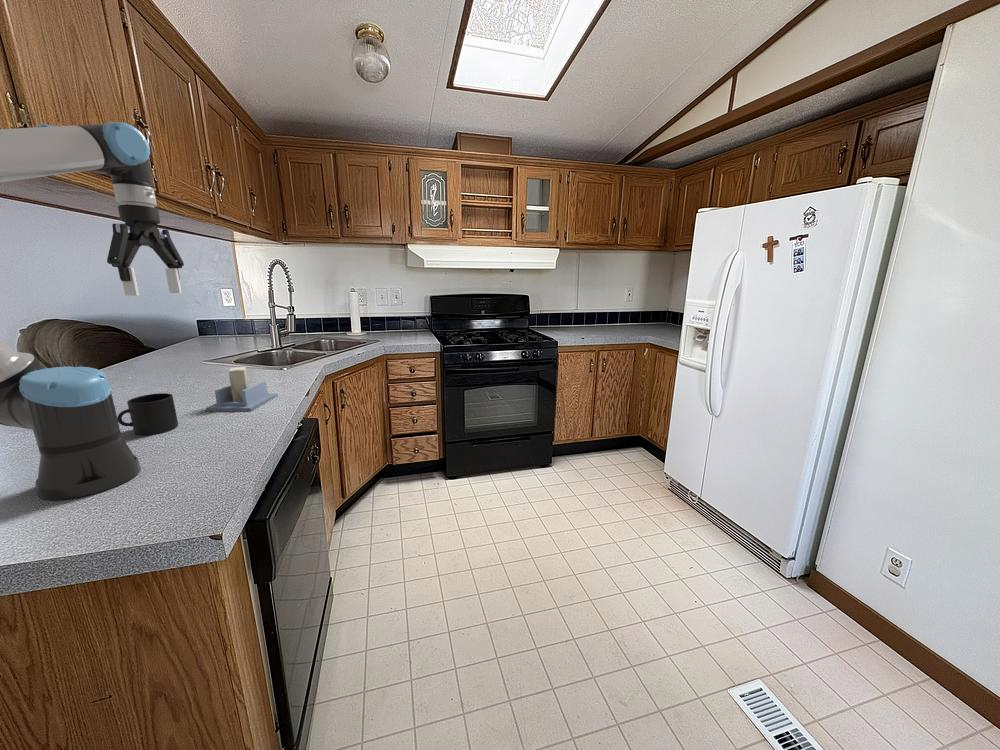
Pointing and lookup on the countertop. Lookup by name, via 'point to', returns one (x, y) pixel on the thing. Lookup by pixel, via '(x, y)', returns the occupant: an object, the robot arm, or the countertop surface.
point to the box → (238, 382)
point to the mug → (151, 414)
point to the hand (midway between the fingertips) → (155, 294)
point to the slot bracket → (250, 398)
